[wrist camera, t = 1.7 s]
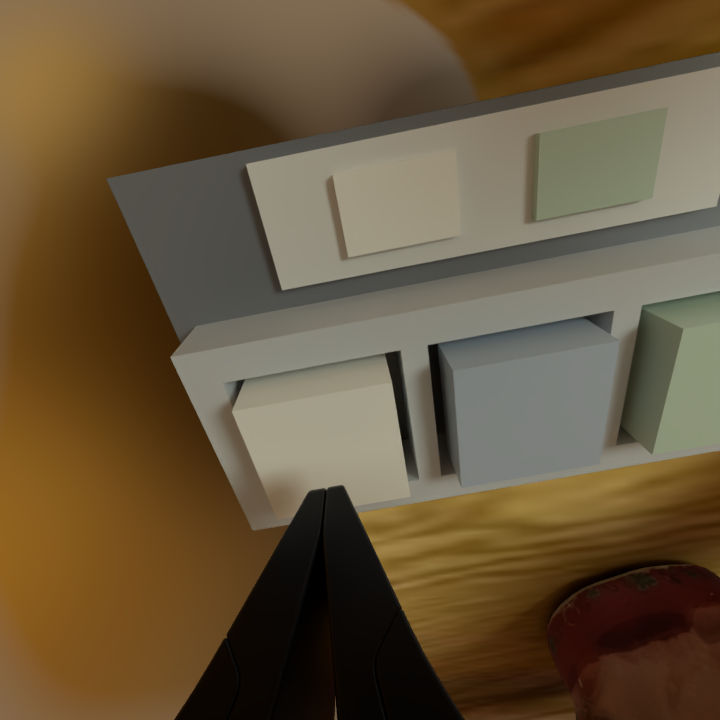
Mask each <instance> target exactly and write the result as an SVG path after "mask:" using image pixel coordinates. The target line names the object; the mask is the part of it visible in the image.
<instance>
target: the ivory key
mask: <svg viewBox="0 0 720 720" xmlns="http://www.w3.org/2000/svg"><path fill="white" fill-rule="evenodd" d="M232 413H233V416H234V418H235V420H236V423H237V425H238V428H239V430H240V432H241V435H242V437H243V440H244V442H245V444H246V447H247V449H248V451H249V454H250V456H251V459H252V461H253V463H254V466H255V468H256V470H257V473H258V475H259V478H260V480H261V482H262V485H263V487H264V490H265V492H266V494H267V497H268V499H269V501H270V504H271V506H272V509H273V511H274V513H275V516H276V518H277V520H279V519H284V518H290V517H294V516H295V514H296V512H297V511H298V509H299V507H300V505H301V504H302V502H303V500H304V498H305V497H306V495H307V493H308V492H309V491H310V490H315V489H321V488H325V489H327V488H328V487H332V486H338V485H343V486H344V487H345V489H346V491H347V493H348V495H349V497H350V499H351V501H352V503H353V505H354V506H360V505H366V504H371V503H377V502H383V501H389V500H395V499H400V498H406V497H411V496H410V490H409V484H408V478H407V471H406V465H405V459H404V453H403V447H402V441H401V435H400V429H399V423H398V417H397V410H396V404H395V398H394V392H393V386H392V381H391V377H390V373H389V369H388V365H387V361H386V357H385V353H383V354H377V355H372V356H367V357H361V358H356V359H350V360H345V361H340V362H334V363H329V364H324V365H318V366H313V367H307V368H302V369H297V370H291V371H286V372H281V373H275V374H270V375H264V376H259V377H254V378H248V379H245V380H244V383H243V385H242V388H241V390H240V393H239V395H238V398H237V400H236V403H235V405H234V408H233V410H232Z"/></svg>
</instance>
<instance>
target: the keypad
mask: <svg viewBox="0 0 720 720" xmlns="http://www.w3.org/2000/svg"><path fill="white" fill-rule="evenodd" d="M107 181H108V183H109V185H110V188H111V190H112V192H113V194H114V197H115V198H116V201H117V203H118V205H119V208H120V210H121V212H122V214H123V216H124V219H125V221H126V223H127V225H128V227H129V230H130V232H131V234H132V236H133V239H134V241H135V243H136V245H137V247H138V250H139V252H140V254H141V256H142V259H143V260H144V263H145V265H146V267H147V269H148V272H149V274H150V276H151V278H152V281H153V283H154V285H155V287H156V290H157V292H158V294H159V296H160V298H161V301H162V303H163V305H164V307H165V309H166V312H167V314H168V316H169V318H170V320H171V323H172V325H173V327H174V329H175V332H176V334H177V336H178V338H179V341H180V342H181V345H180V346H179V347H178V348H177V350H176V351H175V352H174V353H173V355H172V356H171V357H170V358H171V360H172V362H173V364H174V366H175V368H176V370H177V373H178V375H179V377H180V379H181V381H182V383H183V385H184V387H185V389H186V391H187V394H188V396H189V398H190V400H191V402H192V404H193V406H194V408H195V410H196V412H197V414H198V417H199V419H200V421H201V423H202V425H203V427H204V429H205V431H206V434H207V436H208V438H209V440H210V442H211V444H212V446H213V448H214V450H215V452H216V454H217V457H218V459H219V461H220V463H221V465H222V467H223V469H224V471H225V473H226V475H227V478H228V480H229V482H230V484H231V486H232V488H233V490H234V492H235V495H236V497H237V499H238V501H239V503H240V505H241V507H242V509H243V511H244V513H245V515H246V517H247V520H248V522H249V524H250V526H251V528H252V530H253V531H254V530H260V529H266V528H272V527H277V526H284V525H289V524H290V523H291V521H292V519H293V518H294V517H290V518H284V519H279V520H277V518H276V516H275V513H274V511H273V509H272V506H271V504H270V501H269V499H268V497H267V494H266V492H265V490H264V487H263V485H262V482H261V480H260V478H259V475H258V473H257V470H256V468H255V466H254V463H253V461H252V459H251V456H250V454H249V451H248V449H247V447H246V444H245V442H244V440H243V437H242V435H241V432H240V430H239V428H238V425H237V423H236V420H235V418H234V416H233V413H232V410H233V408H234V405H235V403H236V400H237V398H238V395H239V393H240V390H241V388H242V385H243V383H244V380H245V379H248V378H254V377H259V376H264V375H270V374H275V373H281V372H286V371H291V370H297V369H302V368H307V367H313V366H318V365H324V364H329V363H334V362H340V361H345V360H350V359H356V358H361V357H367V356H372V355H377V354H383V353H385V357H386V361H387V365H388V369H389V373H390V377H391V381H392V386H393V392H394V398H395V404H396V410H397V417H398V423H399V429H400V435H401V441H402V447H403V453H404V459H405V465H406V471H407V478H408V484H409V490H410V496H411V497H406V498H400V499H395V500H389V501H383V502H377V503H371V504H366V505H360V506H354V508H355V510H356V512H357V513H359V512H365V511H371V510H377V509H382V508H388V507H394V506H400V505H406V504H412V503H417V502H423V501H429V500H435V499H441V498H446V497H452V496H458V495H464V494H470V493H476V492H481V491H487V490H493V489H499V488H505V487H511V486H516V485H522V484H528V483H534V482H540V481H545V480H551V479H557V478H563V477H569V476H575V475H580V474H586V473H592V472H598V471H604V470H609V469H615V468H621V467H627V466H633V465H639V464H644V463H650V462H656V461H662V460H668V459H673V458H679V457H685V456H691V455H697V454H703V453H708V452H714V451H720V443H719V444H714V445H708V446H702V447H696V448H690V449H685V450H679V451H673V452H667V453H661V454H656V455H652V454H651V453H649V452H648V451H647V450H646V449H645V448H644V447H643V446H642V445H641V444H640V443H639V442H638V441H637V440H636V439H635V438H634V437H632V436H631V435H630V434H629V433H628V432H627V431H626V430H625V429H624V428H623V427H622V426H621V425H620V422H621V416H622V411H623V406H624V400H625V395H626V389H627V384H628V379H629V373H630V368H631V363H632V357H633V352H634V346H635V341H636V336H637V330H638V325H639V320H640V314H641V309H642V305H646V304H652V303H657V302H663V301H668V300H673V299H679V298H684V297H689V296H695V295H700V294H706V293H711V292H716V291H720V52H717V53H712V54H707V55H702V56H697V57H693V58H688V59H683V60H678V61H673V62H668V63H664V64H659V65H654V66H649V67H644V68H639V69H635V70H630V71H625V72H620V73H615V74H610V75H606V76H601V77H596V78H591V79H586V80H581V81H577V82H572V83H567V84H562V85H557V86H552V87H548V88H543V89H538V90H533V91H528V92H523V93H518V94H514V95H509V96H504V97H499V98H494V99H489V100H485V101H480V102H475V103H470V104H465V105H460V106H456V107H451V108H446V109H442V110H436V111H431V112H427V113H422V114H417V115H412V116H407V117H402V118H398V119H393V120H388V121H383V122H378V123H373V124H369V125H364V126H359V127H354V128H349V129H344V130H340V131H335V132H331V133H325V134H320V135H316V136H311V137H306V138H301V139H297V140H291V141H286V142H282V143H277V144H272V145H267V146H262V147H257V148H253V149H248V150H243V151H238V152H233V153H229V154H224V155H219V156H214V157H209V158H204V159H199V160H195V161H190V162H185V163H180V164H176V165H170V166H166V167H161V168H156V169H151V170H146V171H142V172H137V173H132V174H127V175H122V176H117V177H112V178H108V179H107ZM582 316H583V317H584V318H586V319H587V320H589V321H590V322H592V323H593V324H595V325H596V326H598V327H599V328H601V329H603V330H604V331H606V332H607V333H609V334H610V335H612V336H613V337H615V338H616V339H618V340H620V343H619V349H618V355H617V361H616V367H615V373H614V379H613V385H612V391H611V397H610V404H609V410H608V416H607V422H606V428H605V434H604V440H603V446H602V452H601V458H600V464H598V465H592V466H586V467H580V468H574V469H569V470H563V471H557V472H551V473H545V474H540V475H534V476H528V477H522V478H516V479H511V480H505V481H499V482H493V483H487V484H482V485H476V486H470V487H464V488H461V485H460V483H459V480H458V477H457V475H456V472H455V469H454V467H453V464H452V462H451V459H450V456H449V454H448V451H447V442H446V431H445V420H444V409H443V398H442V387H441V376H440V365H439V354H438V343H442V342H447V341H453V340H458V339H463V338H469V337H474V336H480V335H485V334H490V333H496V332H501V331H507V330H512V329H517V328H523V327H528V326H533V325H539V324H544V323H550V322H555V321H560V320H566V319H571V318H576V317H582Z"/></svg>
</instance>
